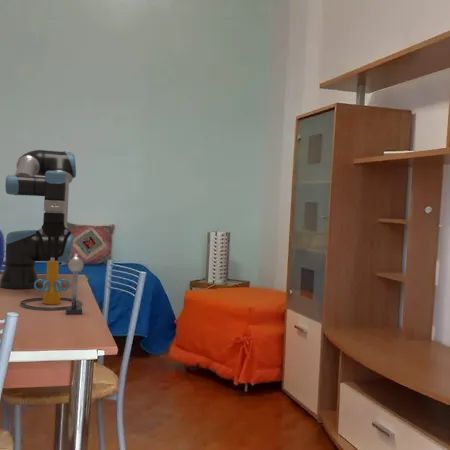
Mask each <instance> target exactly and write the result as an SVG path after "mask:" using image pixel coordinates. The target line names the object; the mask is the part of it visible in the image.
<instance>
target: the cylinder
mask: <svg viewBox="0 0 450 450" xmlns="http://www.w3.org/2000/svg"><path fill="white" fill-rule="evenodd" d="M59 267H60V262H59V261H47V262H46V276H45V277H44V279H43V278H38V280H36V281H35V283H34V288H33V289H35V290H36V291H37V292H42V297H43V300H42V304H44V305H51V306H52V305H58V304H61V300H60V297H61V291H62V292H64V291H67V290H68V289H70V286H71V283H70V280H68V279H66V278H60V277H59ZM37 282H39V283H40V282H42V288H39V287H36V284H37ZM63 282H66V283H67V286H66V287H65V288H62V283H63Z"/></svg>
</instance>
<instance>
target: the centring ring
mask: <svg viewBox="0 0 450 450" xmlns="http://www.w3.org/2000/svg"><path fill="white" fill-rule="evenodd" d="M37 301H38V302H39V301H40V302H41V301H43V296H41V297H34V298H27V299H26V298H25V299H24V300H20V301H18V302H19V305H20V307H22V308H23V309H28V310H33V311H35V310H36V311H66V307H72V305H68V306H58V307H57V306H55V307H54V306H50V307H49V306H47V307H46V306H45V307H44V306H34V305H29V304H27V303H31V302H37ZM60 301H65V302H66V301H67V302H72V297H61V296H60ZM83 303H84V301H83V300H79V299H77V307H82V305H83Z"/></svg>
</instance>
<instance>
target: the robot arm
mask: <svg viewBox="0 0 450 450" xmlns="http://www.w3.org/2000/svg"><path fill="white" fill-rule="evenodd" d="M76 177H77V168H76V158H75V154H74V153H73V152H71V151H64V150H63V151H59V150H58V151H55V150H47V149H46V150H45V149H44V150H43V149H36V150H31V151H28V152H26V153H24V154H22V155H21V156H20V157H19V158H18V159H17V162H16V171H15V174H11V175H10V174H8V175H7V176H6V178H5V185H4V186H5V187H4V188H5V193H6V194H7V195H13V196H28V197H29V196H30V197H31V196H32V197H44V200H43V220H42V222H43V224H42V226H41V228H39V229H37V230H36V229H27V230H17V231H16V230H15V231H10V232H9V233H7V234H6V238H5V259H4V261H5V265H4V266H5V267H4V269H3V272H2V275H1V278H0V288H3V289H12V290H15V289H16V290H17V289H18V290H23V289H26V290H27V289H35V288H34V283H35V281H36V280H38V279H39V276H38V274H37V270H36V262H46V263H47V261H59V263H61V262H66V263H67V262H69V260H70V259H71V258H72V253H73V247H74V241H75V240H74V239H75V235H74V234H72V232H71V229H69V227H68V217H69V216H68V212H69V211H68V209H69V193H70V192H69V190H70V187H69V186H70V183H72V181H73V179H74V178H76ZM39 283H40V281H39V282H37V284H36V287H37V288H39V286H40V284H39Z"/></svg>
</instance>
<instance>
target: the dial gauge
mask: <svg viewBox="0 0 450 450" xmlns="http://www.w3.org/2000/svg"><path fill="white" fill-rule="evenodd" d="M72 256H73V257H71V258H70V260H69V261H67V267H68V269H69V271H70V272H71V273H72V281H71V282H72V283H71V285H72V287H71V290H72V291H71V298H72V301H71V306H72V307H66V306H65V307H66V310H65V315H67V316H68V315H83V307H82V306H80V307H77V304H78V303H77V300H78V282H79V281H78V280H79V278H78V277H79V273H80V272H82V271H83V270H84V268H85V263H84V260H83V259H82V258H80V255H79V253H73V255H72Z"/></svg>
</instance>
